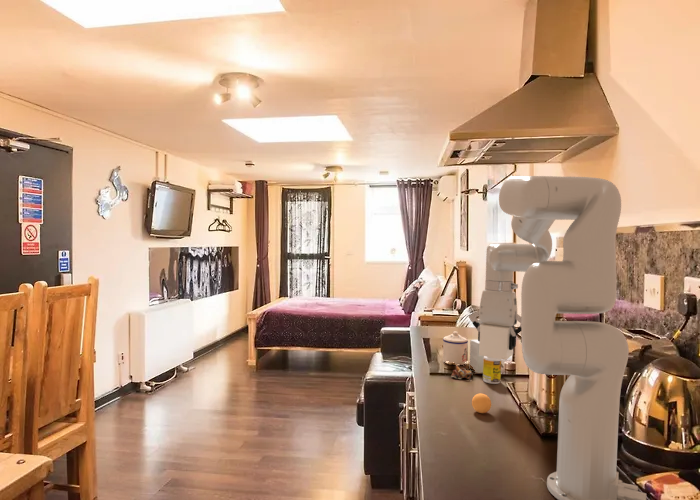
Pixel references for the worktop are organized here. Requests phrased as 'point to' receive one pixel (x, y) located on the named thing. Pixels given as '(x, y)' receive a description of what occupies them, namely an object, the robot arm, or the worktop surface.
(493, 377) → the supplement bottle
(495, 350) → the cream matte cube
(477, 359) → the small box
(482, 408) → the ball
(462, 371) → the pastry
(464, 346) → the teacup with lid
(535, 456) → the worktop surface
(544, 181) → the robot arm
